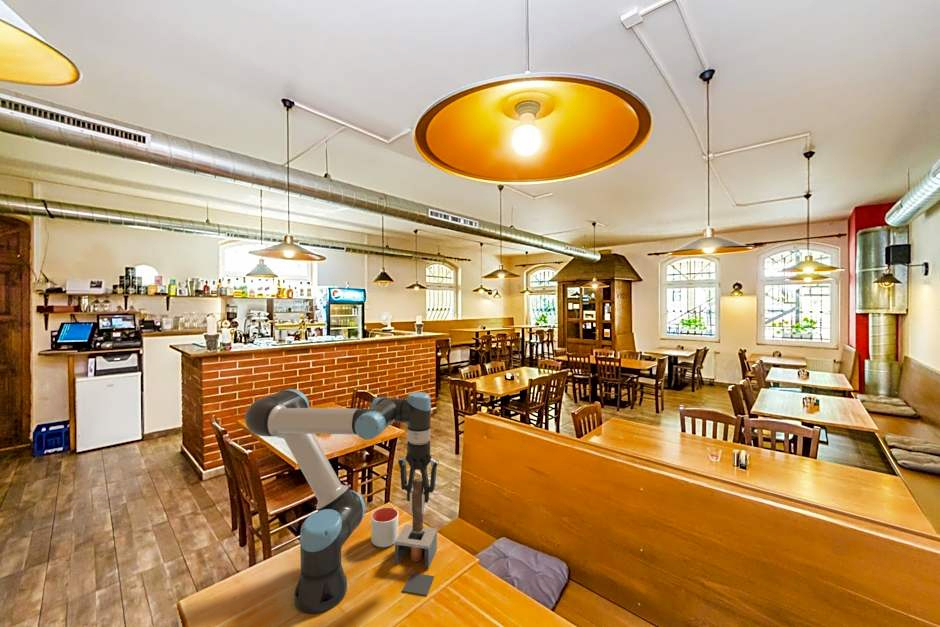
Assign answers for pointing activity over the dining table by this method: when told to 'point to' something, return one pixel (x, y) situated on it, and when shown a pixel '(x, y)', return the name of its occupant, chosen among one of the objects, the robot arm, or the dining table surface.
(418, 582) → the coaster
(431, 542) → the grey box with hole
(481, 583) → the dining table surface
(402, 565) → the dining table surface
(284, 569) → the dining table surface
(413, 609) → the dining table surface
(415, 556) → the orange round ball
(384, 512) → the cup
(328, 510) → the robot arm
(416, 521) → the rod
